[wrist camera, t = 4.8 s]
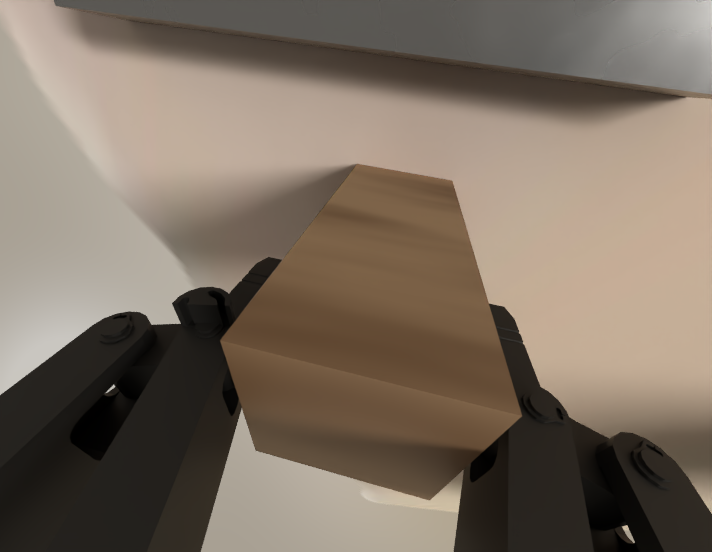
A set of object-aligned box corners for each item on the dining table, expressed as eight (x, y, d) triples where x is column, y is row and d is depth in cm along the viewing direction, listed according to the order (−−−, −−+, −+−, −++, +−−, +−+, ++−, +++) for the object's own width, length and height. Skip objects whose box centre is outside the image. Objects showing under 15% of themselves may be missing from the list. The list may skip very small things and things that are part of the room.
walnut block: (425, 260, 17) (429, 500, 7) (348, 244, 17) (255, 450, 8) (452, 180, 13) (522, 416, 4) (357, 164, 14) (219, 340, 4)
